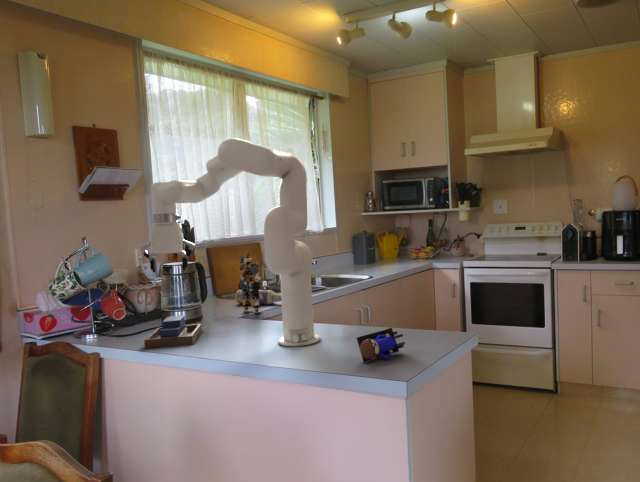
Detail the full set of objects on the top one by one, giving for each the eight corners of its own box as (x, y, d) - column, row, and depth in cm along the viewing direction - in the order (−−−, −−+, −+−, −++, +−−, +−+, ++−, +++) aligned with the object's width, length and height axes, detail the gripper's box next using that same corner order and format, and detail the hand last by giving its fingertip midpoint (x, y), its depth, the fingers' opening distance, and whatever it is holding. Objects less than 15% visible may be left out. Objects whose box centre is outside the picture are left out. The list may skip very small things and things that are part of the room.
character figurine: (410, 355, 147) (369, 368, 137) (391, 349, 152) (350, 361, 142) (409, 327, 146) (368, 339, 136) (391, 322, 151) (350, 333, 141)
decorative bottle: (234, 305, 246) (233, 290, 246) (244, 302, 253) (243, 288, 253) (282, 306, 236) (282, 291, 236) (291, 303, 243) (290, 288, 243)
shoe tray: (192, 344, 173) (192, 335, 173) (144, 348, 170) (144, 340, 170) (201, 331, 192) (201, 323, 192) (158, 335, 190) (158, 327, 190)
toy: (271, 313, 221) (267, 252, 219) (253, 317, 215) (249, 254, 213) (251, 310, 231) (246, 252, 229) (233, 313, 224) (229, 254, 223)
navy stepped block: (187, 333, 188) (185, 314, 187) (179, 342, 174) (178, 322, 174) (169, 334, 187) (167, 316, 186) (160, 344, 173) (158, 324, 173)
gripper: (194, 218, 184) (198, 267, 185) (141, 221, 181) (145, 271, 183) (190, 218, 177) (194, 270, 178) (135, 221, 174) (139, 273, 175)
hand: (169, 270), depth 180 cm, fingers open, 9 cm apart
